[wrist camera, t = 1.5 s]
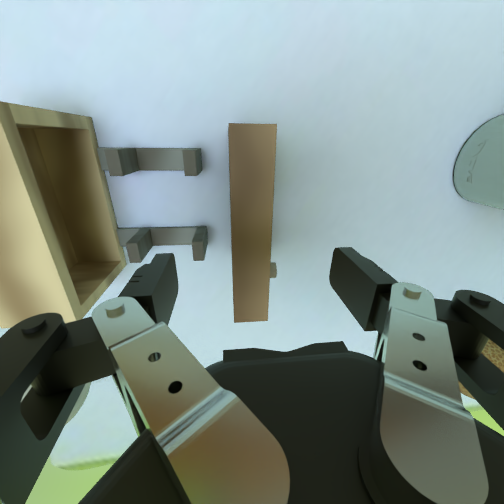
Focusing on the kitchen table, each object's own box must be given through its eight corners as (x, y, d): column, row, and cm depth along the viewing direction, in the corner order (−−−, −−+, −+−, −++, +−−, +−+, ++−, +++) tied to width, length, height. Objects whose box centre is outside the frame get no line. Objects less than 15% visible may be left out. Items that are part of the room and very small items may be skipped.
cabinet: (198, 119, 22) (178, 104, 13) (209, 262, 29) (200, 317, 20) (25, 116, 21) (-128, 97, 12) (76, 266, 27) (1, 328, 18)
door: (268, 132, 23) (303, 124, 13) (264, 252, 29) (285, 319, 18) (228, 131, 23) (228, 123, 12) (231, 253, 28) (234, 322, 18)
